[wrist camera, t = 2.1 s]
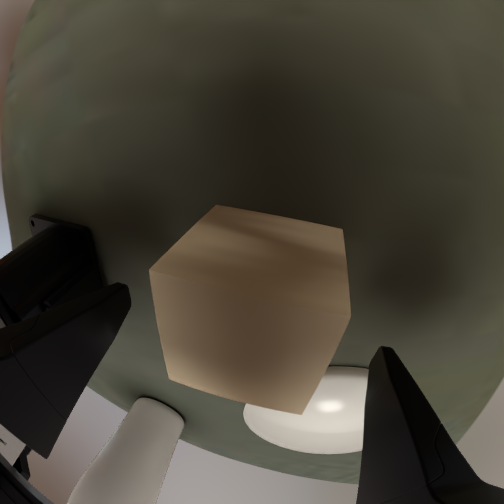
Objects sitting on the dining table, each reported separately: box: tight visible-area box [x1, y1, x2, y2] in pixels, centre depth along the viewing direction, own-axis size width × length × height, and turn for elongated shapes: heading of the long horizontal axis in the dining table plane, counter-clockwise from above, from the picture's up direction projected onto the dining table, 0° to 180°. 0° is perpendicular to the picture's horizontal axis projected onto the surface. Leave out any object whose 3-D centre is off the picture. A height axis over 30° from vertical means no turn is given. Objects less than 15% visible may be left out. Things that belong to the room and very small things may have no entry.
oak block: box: [149, 205, 351, 415], centre depth 10 cm, size 5×5×5 cm
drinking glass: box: [67, 398, 184, 504], centre depth 16 cm, size 7×7×15 cm
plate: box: [243, 366, 369, 454], centre depth 16 cm, size 12×12×1 cm
